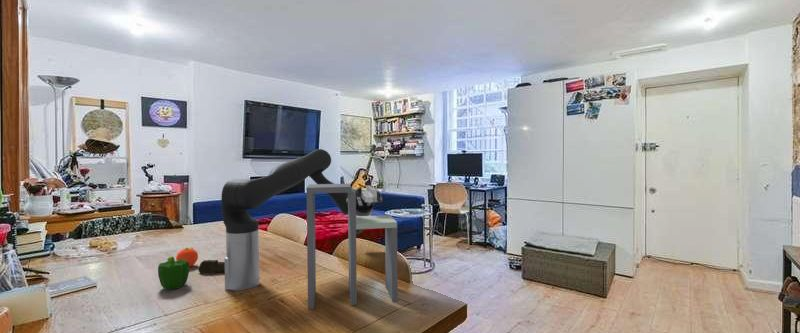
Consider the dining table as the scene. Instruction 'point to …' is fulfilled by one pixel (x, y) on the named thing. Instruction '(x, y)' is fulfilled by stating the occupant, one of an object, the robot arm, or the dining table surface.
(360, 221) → the step stand
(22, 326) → the dining table surface
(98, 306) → the dining table surface
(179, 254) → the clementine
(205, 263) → the hand tool
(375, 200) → the bracket
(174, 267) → the bell pepper
